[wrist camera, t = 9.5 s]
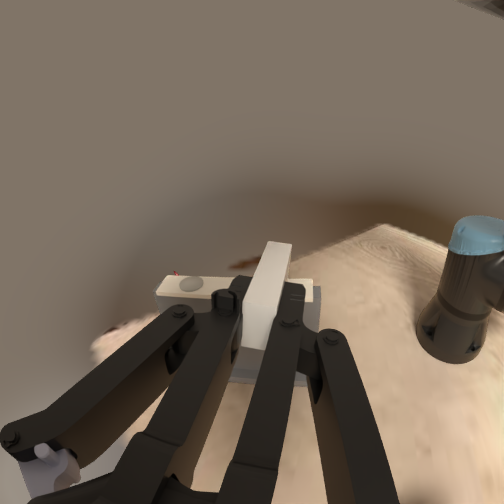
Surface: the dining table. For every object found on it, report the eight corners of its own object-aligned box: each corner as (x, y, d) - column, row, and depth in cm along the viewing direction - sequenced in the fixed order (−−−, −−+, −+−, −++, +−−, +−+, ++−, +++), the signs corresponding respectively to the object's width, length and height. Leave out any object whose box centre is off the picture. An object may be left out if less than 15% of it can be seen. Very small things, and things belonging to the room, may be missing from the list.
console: (187, 349, 48) (163, 269, 40) (313, 357, 44) (320, 272, 36) (176, 374, 43) (145, 293, 35) (312, 386, 39) (322, 301, 31)
